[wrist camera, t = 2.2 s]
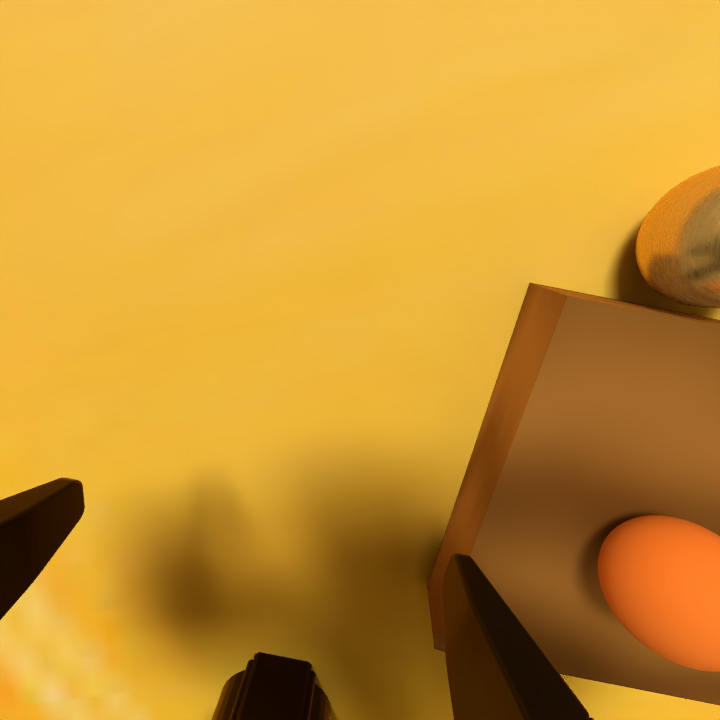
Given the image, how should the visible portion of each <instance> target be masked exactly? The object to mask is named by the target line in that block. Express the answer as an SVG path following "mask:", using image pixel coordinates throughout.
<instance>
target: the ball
mask: <svg viewBox="0 0 720 720" xmlns="http://www.w3.org/2000/svg"><path fill="white" fill-rule="evenodd" d="M598 576H599V581H600V585H601V589H602V591H603V594H604V597H605V599H606V601H607V603H608V604H609V606H610V608H611V610H612V612H613V613H614V614H615V616H616V617H617V619H618V620H619V621H620V623H621V624H622V625H623V626H624V627H625V628H626V630H627V631H629V632H630V633H631V634H632V635H633V636H634V637H635V638H636V639H637V640H638V641H639V642H641V643H642V644H643V645H645V646H646V647H647V648H649V649H650V650H652V651H653V652H655V653H656V654H658V655H660V656H661V657H663V658H665V659H667V660H669V661H672V662H674V663H676V664H679V665H682V666H685V667H688V668H692V669H696V670H701V671H711V672H720V536H718V535H717V534H715V533H714V532H712V531H710V530H708V529H706V528H704V527H702V526H700V525H698V524H695V523H693V522H690V521H687V520H684V519H680V518H676V517H671V516H662V515H648V516H641V517H637V518H633V519H630V520H628V521H625V522H623V523H622V524H620V525H618V526H617V527H616V528H615V529H613V530H612V531H611V532H610V533H609V534H608V536H607V537H606V539H605V540H604V542H603V544H602V546H601V549H600V552H599V557H598Z"/></svg>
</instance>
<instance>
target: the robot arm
mask: <svg viewBox="0 0 720 720" xmlns="http://www.w3.org/2000/svg"><path fill="white" fill-rule="evenodd" d="M84 508H85V505H84V494H83V485H82V483H81V481H79V480H75V479H70V478H59V479H56V480H54V481H51V482H48V483H46V484H43V485H40V486H37V487H35V488H32V489H29V490H27V491H24V492H21V493H18V494H16V495H13V496H10V497H8V498H5V499H2V500H0V620H1V619H2V617H3V616H4V615H5V614H6V613H7V612H8V611H9V609H10V608H11V607H12V606H13V605H14V604H15V603H16V601H17V600H18V599H19V598H20V597H21V596H22V595H23V593H24V592H25V591H26V590H27V589H28V588H29V586H30V585H31V584H32V583H33V582H34V580H35V579H36V578H37V576H38V575H39V574H40V573H41V571H42V570H43V569H44V567H45V566H46V565H47V563H48V562H49V561H50V559H51V558H52V557H53V555H54V554H55V552H56V551H57V550H58V548H59V547H60V546H61V544H62V543H63V542H64V540H65V539H66V538H67V536H68V535H69V534H70V532H71V531H72V529H73V528H74V527H75V525H76V524H77V523H78V521H79V520H80V518H81V517H82V515H83V512H84ZM442 593H443V614H444V634H445V653H446V665H447V673H448V680H449V687H450V694H451V701H452V707H453V714H454V720H594V719H593V718H589V713H588V712H587V710H586V709H585V708H584V706H583V705H582V704H581V702H580V701H579V700H578V698H577V697H576V696H575V694H574V693H573V692H572V690H571V689H570V688H569V686H568V685H567V684H566V682H565V681H564V680H563V678H562V677H561V676H560V674H559V673H558V672H557V670H556V669H555V668H554V666H553V665H552V664H551V662H550V661H549V660H548V658H547V657H546V656H545V654H544V653H543V652H542V650H541V649H540V648H539V646H538V645H537V644H536V643H535V641H534V640H533V639H532V637H531V636H530V635H529V633H528V632H527V631H526V629H525V628H524V627H523V625H522V624H521V623H520V621H519V620H518V619H517V617H516V616H515V615H514V613H513V612H512V611H511V609H510V608H509V607H508V605H507V604H506V603H505V601H504V600H503V599H502V597H501V596H500V595H499V593H498V592H497V591H496V589H495V588H494V587H493V585H492V584H491V583H490V581H489V580H488V579H487V577H486V576H485V575H484V573H483V572H482V571H481V569H480V568H479V567H478V565H477V564H476V563H475V561H474V560H473V559H472V558H471V557H470V556H469V555H465V554H460V553H452V555H451V557H450V559H449V562H448V565H447V568H446V571H445V574H444V577H443V583H442ZM311 667H312V665H311V664H310V663H309V662H307V661H301V660H296V659H291V658H286V657H281V656H276V655H271V654H266V653H261V652H259V653H257V654H255V656H254V660H249V661H248V664H247V667H246V670H244V671H241V672H239V673H237V674H235V675H234V676H232V677H231V678H230V679H229V680H228V681H227V682H226V683H225V685H224V687H223V689H222V692H221V695H220V698H219V701H218V703H217V706H216V709H215V712H214V715H213V718H212V720H329V717H330V703H329V700H328V698H327V696H326V695H325V693H324V692H323V690H322V689H321V688H320V687H319V686H318V685H316V683H315V678H316V674H315V673H314V672H313V671H311Z"/></svg>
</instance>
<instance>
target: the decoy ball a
mask: <svg viewBox="0 0 720 720" xmlns="http://www.w3.org/2000/svg"><path fill="white" fill-rule="evenodd" d="M636 260H637V264H638V267H639V270H640V272H641V274H642V276H643V278H644V279H645V280H646V282H647V283H648V284H649V285H650V286H651V287H652V288H653V289H654V290H655V291H656V292H658V293H659V294H661V295H663V296H664V297H666V298H668V299H670V300H672V301H675V302H678V303H681V304H684V305H688V306H694V307H702V308H720V166H717V167H714V168H710V169H708V170H705V171H703V172H700V173H698V174H696V175H694V176H692V177H690V178H688V179H686V180H684V181H683V182H681V183H680V184H679V185H677V186H676V187H674V188H673V189H671V190H670V191H669V192H668V193H666V194H665V195H664V196H663V197H662V198H661V199H660V200H659V201H658V202H657V203H656V204H655V205H654V207H653V208H652V209H651V210H650V212H649V213H648V215H647V216H646V218H645V219H644V221H643V223H642V225H641V227H640V230H639V233H638V236H637V241H636Z"/></svg>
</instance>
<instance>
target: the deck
mask: <svg viewBox="0 0 720 720" xmlns="http://www.w3.org/2000/svg"><path fill="white" fill-rule="evenodd" d="M648 515H662V516H671V517H676V518H680V519H684V520H687V521H690V522H693V523H695V524H698V525H700V526H702V527H704V528H706V529H708V530H710V531H712V532H714V533H715V534H717V535H718V536H720V320H716V319H711V318H706V317H700V316H695V315H690V314H685V313H680V312H675V311H670V310H665V309H660V308H655V307H650V306H645V305H640V304H635V303H630V302H625V301H620V300H615V299H609V298H604V297H599V296H594V295H589V294H584V293H579V292H574V291H569V290H564V289H559V288H554V287H549V286H544V285H539V284H534V283H530V284H529V287H528V290H527V293H526V296H525V299H524V302H523V305H522V308H521V311H520V314H519V317H518V320H517V322H516V325H515V328H514V331H513V334H512V337H511V340H510V343H509V346H508V349H507V352H506V355H505V358H504V361H503V364H502V367H501V370H500V373H499V376H498V379H497V382H496V385H495V388H494V390H493V393H492V396H491V399H490V402H489V405H488V408H487V411H486V414H485V417H484V420H483V423H482V426H481V429H480V432H479V435H478V438H477V441H476V444H475V447H474V450H473V453H472V456H471V459H470V461H469V464H468V467H467V470H466V473H465V476H464V479H463V482H462V485H461V488H460V491H459V494H458V497H457V500H456V503H455V506H454V509H453V512H452V515H451V518H450V521H449V524H448V527H447V530H446V532H445V535H444V538H443V541H442V544H441V547H440V550H439V553H438V556H437V559H436V562H435V565H434V568H433V571H432V574H431V577H430V580H429V583H428V586H427V589H428V597H429V606H430V614H431V622H432V631H433V639H434V648H435V649H437V650H442V651H445V634H444V614H443V593H442V583H443V577H444V574H445V571H446V568H447V565H448V562H449V559H450V557H451V555H452V553H460V554H465V555H469V556H470V557H471V558H472V559H473V560H474V561H475V563H476V564H477V565H478V567H479V568H480V569H481V571H482V572H483V573H484V575H485V576H486V577H487V579H488V580H489V581H490V583H491V584H492V585H493V587H494V588H495V589H496V591H497V592H498V593H499V595H500V596H501V597H502V599H503V600H504V601H505V603H506V604H507V605H508V607H509V608H510V609H511V611H512V612H513V613H514V615H515V616H516V617H517V619H518V620H519V621H520V623H521V624H522V625H523V627H524V628H525V629H526V631H527V632H528V633H529V635H530V636H531V637H532V639H533V640H534V641H535V643H536V644H537V645H538V646H539V648H540V649H541V650H542V652H543V653H544V654H545V656H546V657H547V658H548V660H549V661H550V662H551V664H552V665H553V666H554V668H555V669H556V670H557V672H558V673H559V674H564V675H569V676H574V677H579V678H584V679H589V680H594V681H599V682H604V683H609V684H614V685H619V686H624V687H630V688H635V689H640V690H645V691H650V692H655V693H660V694H665V695H670V696H675V697H680V698H685V699H690V700H695V701H700V702H705V703H711V704H716V705H720V672H711V671H701V670H696V669H692V668H688V667H685V666H682V665H679V664H676V663H674V662H672V661H669V660H667V659H665V658H663V657H661V656H660V655H658V654H656V653H655V652H653V651H652V650H650V649H649V648H647V647H646V646H645V645H643V644H642V643H641V642H639V641H638V640H637V639H636V638H635V637H634V636H633V635H632V634H631V633H630V632H629V631H627V630H626V628H625V627H624V626H623V625H622V624H621V623H620V621H619V620H618V619H617V617H616V616H615V614H614V613H613V612H612V610H611V608H610V606H609V604H608V603H607V601H606V599H605V597H604V594H603V591H602V589H601V585H600V581H599V576H598V557H599V552H600V549H601V546H602V544H603V542H604V540H605V539H606V537H607V536H608V534H609V533H610V532H611V531H612V530H613V529H615V528H616V527H617V526H618V525H620V524H622V523H623V522H625V521H628V520H630V519H633V518H637V517H641V516H648Z"/></svg>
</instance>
